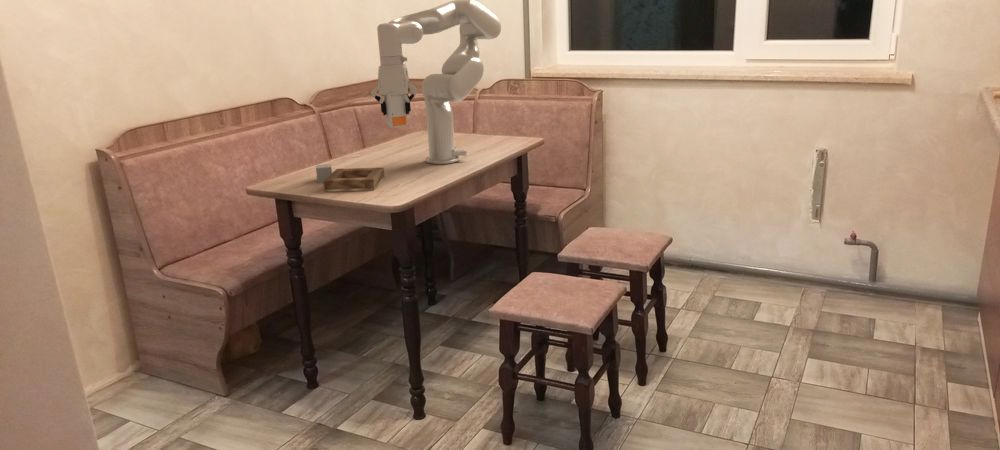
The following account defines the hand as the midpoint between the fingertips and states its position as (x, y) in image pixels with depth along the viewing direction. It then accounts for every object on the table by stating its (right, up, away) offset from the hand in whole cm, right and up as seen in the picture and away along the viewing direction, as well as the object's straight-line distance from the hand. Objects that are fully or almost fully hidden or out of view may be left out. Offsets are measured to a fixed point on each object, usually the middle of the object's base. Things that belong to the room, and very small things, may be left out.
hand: (396, 113), depth 259 cm
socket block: (-12, -24, -9) cm, 29 cm away
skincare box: (0, -4, +1) cm, 5 cm away
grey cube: (-24, -23, -2) cm, 33 cm away
